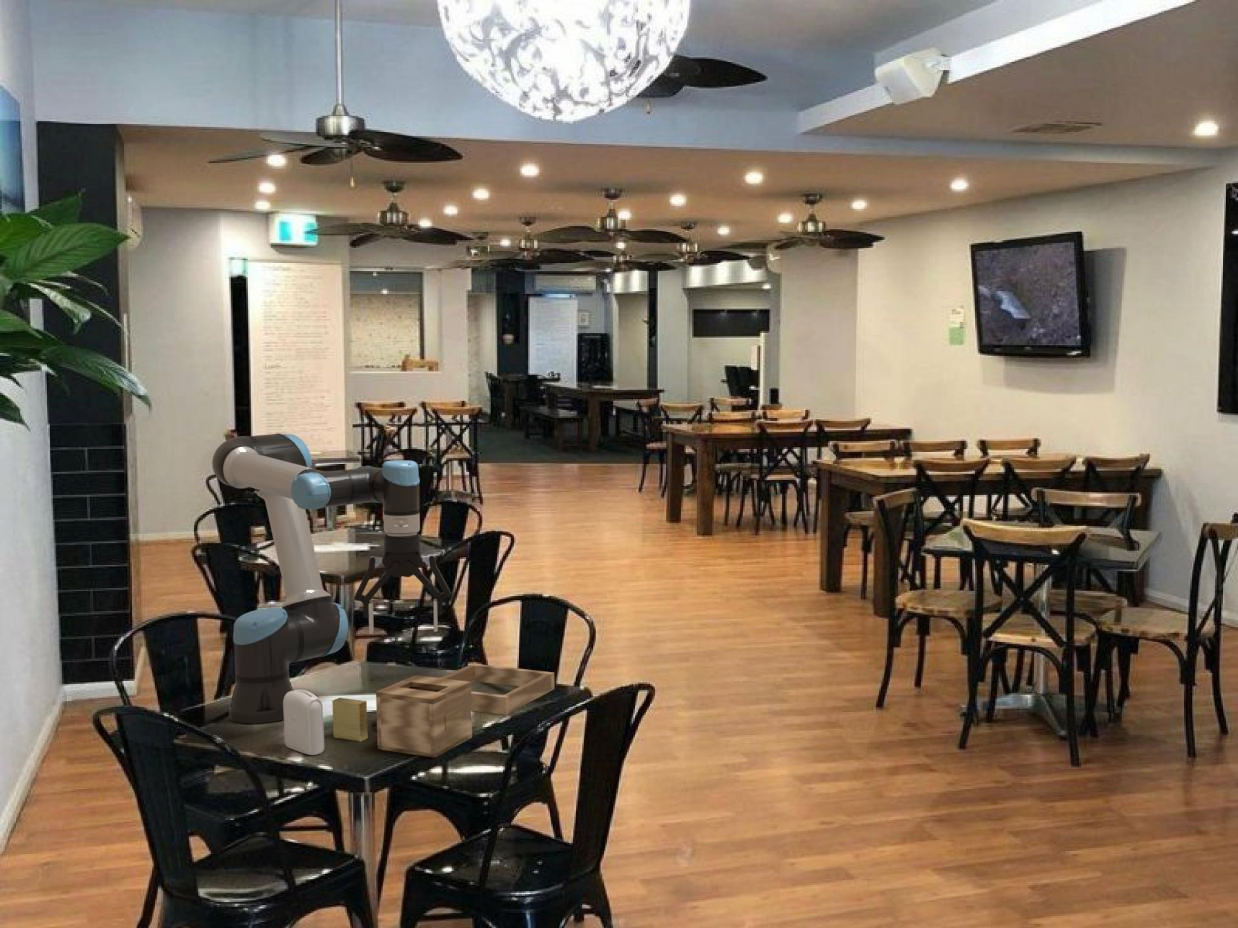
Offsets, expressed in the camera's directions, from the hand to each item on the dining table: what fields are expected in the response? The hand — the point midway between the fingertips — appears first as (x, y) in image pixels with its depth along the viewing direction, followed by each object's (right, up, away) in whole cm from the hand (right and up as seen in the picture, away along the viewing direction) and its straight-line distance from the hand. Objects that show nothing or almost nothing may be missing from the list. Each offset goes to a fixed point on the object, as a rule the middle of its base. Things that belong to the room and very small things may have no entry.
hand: (403, 631), depth 256 cm
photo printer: (-19, -23, -10) cm, 31 cm away
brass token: (-11, -22, -2) cm, 25 cm away
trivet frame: (+15, -19, +27) cm, 37 cm away
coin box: (+6, -22, -7) cm, 24 cm away
